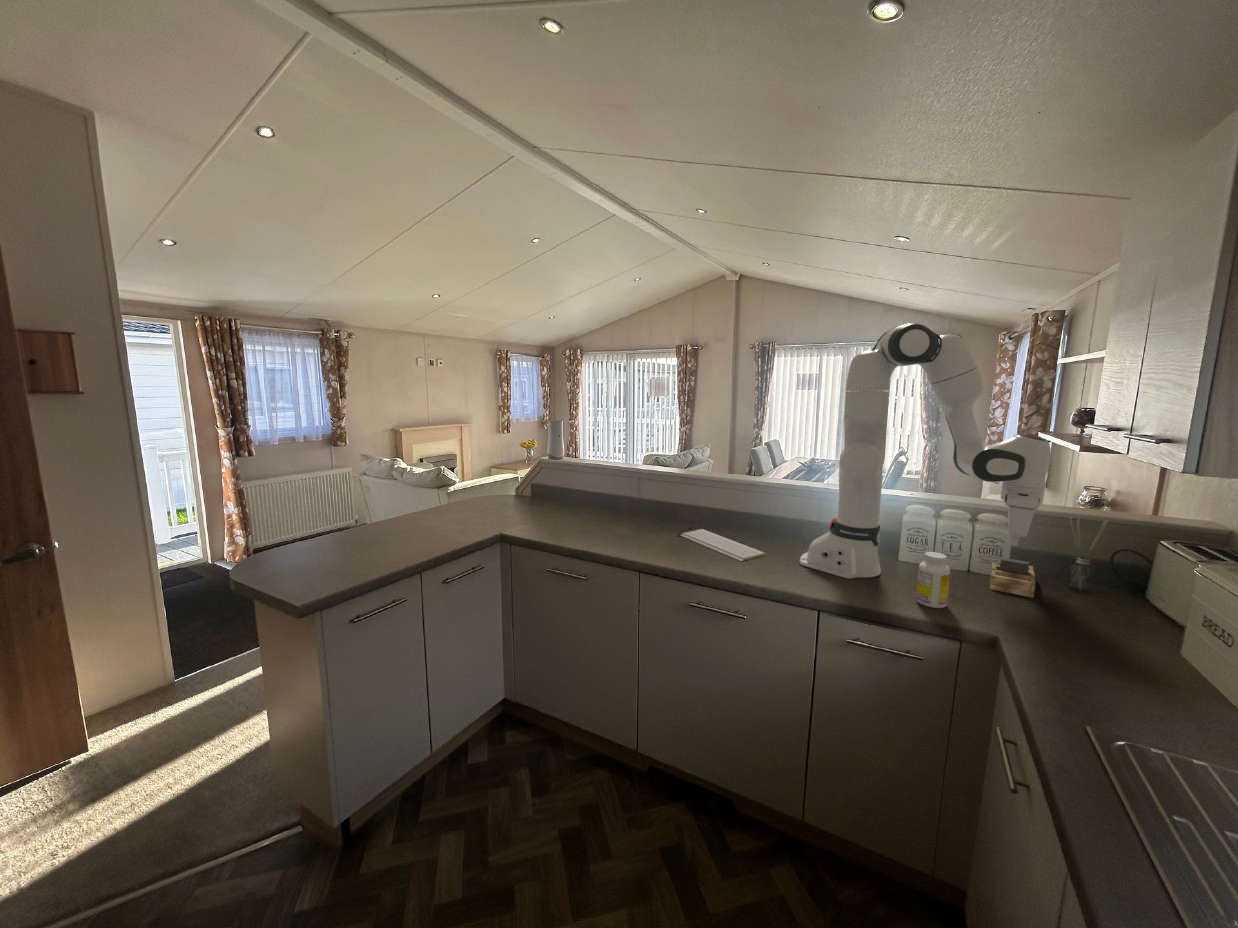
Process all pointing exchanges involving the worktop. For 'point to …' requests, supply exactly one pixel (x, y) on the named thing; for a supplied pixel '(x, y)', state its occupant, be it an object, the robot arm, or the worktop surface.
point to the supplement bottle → (933, 581)
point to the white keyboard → (722, 545)
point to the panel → (1014, 566)
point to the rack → (1013, 582)
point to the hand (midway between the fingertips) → (1013, 544)
